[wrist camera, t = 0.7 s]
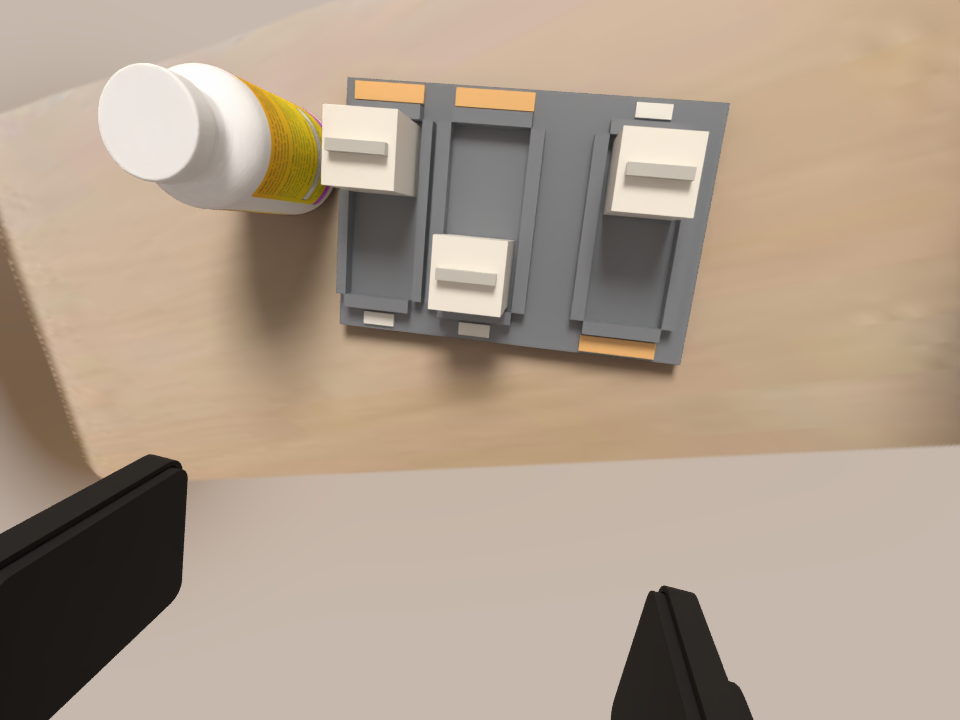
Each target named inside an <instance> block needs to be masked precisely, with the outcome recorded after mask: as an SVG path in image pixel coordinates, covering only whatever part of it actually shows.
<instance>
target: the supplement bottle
mask: <svg viewBox="0 0 960 720" xmlns="http://www.w3.org/2000/svg"><path fill="white" fill-rule="evenodd" d="M98 123H99V129H100V133H101V137H102V139H103V142H104V144H105V146H106V148H107V150H108V152H109V154H110V155H111V157H112V158H113V159H114V160H115V162H116V163H117V164H118V165H119V166H120V167H121V168H123V169H124V170H125V171H126V172H128V173H129V174H131V175H133V176H135V177H137V178H139V179H142V180H145V181H150V182H156V183H157V184H158V185H159V187H161V188H162V189H163V190H164V191H165V192H166V193H168V194H169V195H170V196H172V197H173V198H175V199H176V200H178V201H180V202H182V203H185V204H187V205H190V206H193V207H197V208H202V209H212V210H229V211H243V212H256V213H269V214H282V215H297V214H303V213H306V212H309V211H311V210H313V209H315V208H317V207H318V206H319V205H321V204H322V203H323V202H324V201H325V200H326V199H327V197H328V196H329V195H330V193H331V191H332V190H333V187H331V186H326V185H321V163H322V122H321V121H320V120H319V119H318V118H317V117H316V116H314V115H313V114H312V113H310V112H308V111H307V110H305V109H303V108H301V107H299V106H297V105H295V104H293V103H291V102H288V101H286V100H285V99H282V98H280V97H278V96H276V95H274V94H272V93H270V92H267V91H265V90H263V89H261V88H259V87H257V86H255V85H253V84H251V83H249V82H247V81H245V80H243V79H241V78H239V77H237V76H235V75H233V74H231V73H229V72H227V71H225V70H222V69H220V68H218V67H215V66H211V65H207V64H201V63H187V64H180V65H176V66H173V67H171V68H168V69H166V68H163V67H161V66H157V65H154V64H148V63H137V64H132V65H129V66H126V67H124V68H122V69H120V70H119V71H117V72H116V73H115V74H114V75H113V76H112V77H111V78H110V79H109V81H108V82H107V84H106V86H105V87H104V89H103V91H102V94H101V97H100V101H99V107H98Z"/></svg>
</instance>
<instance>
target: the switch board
mask: <svg viewBox="0 0 960 720" xmlns="http://www.w3.org/2000/svg"><path fill="white" fill-rule="evenodd" d="M729 105H730V103H721V102H706V101H691V100H676V99H662V98H647V97H632V96H617V95H602V94H588V93H573V92H558V91H543V90H529V89H514V88H499V87H484V86H469V85H455V84H440V83H425V82H410V81H396V80H381V79H366V78H351V77H348V80H347V105H335V104H323V117H322V163H321V185H326V186H331V187H335V188H339V218H338V251H337V285H336V293H341V301H340V324H343V325H351V326H360V327H368V328H376V329H385V330H393V331H401V332H410V333H418V334H426V335H434V336H443V337H451V338H459V339H468V340H476V341H484V342H493V343H501V344H509V345H518V346H526V347H534V348H542V349H551V350H559V351H567V352H576V353H584V354H592V355H601V356H609V357H617V358H626V359H634V360H642V361H650V362H659V363H667V364H675V365H680V363H681V358H682V353H683V348H684V342H685V337H686V332H687V326H688V321H689V316H690V311H691V305H692V300H693V295H694V290H695V284H696V279H697V274H698V268H699V263H700V258H701V253H702V247H703V242H704V237H705V232H706V226H707V221H708V216H709V210H710V205H711V200H712V195H713V189H714V184H715V179H716V174H717V168H718V163H719V158H720V153H721V147H722V142H723V137H724V131H725V126H726V121H727V116H728V110H729ZM624 125H626V126H640V127H653V128H667V129H681V130H694V131H708V132H709V136H708V141H707V146H706V152H705V157H704V163H703V168H702V174H701V179H700V185H699V190H698V195H697V201H696V206H695V212H694V217H693V218H691V219H683V220H674V221H669V220H658V219H647V218H636V217H626V216H615V215H604V214H603V208H604V201H605V195H606V188H607V181H608V174H609V167H610V160H611V153H612V146H613V142H614V140H615V138H616V137H617V135H618V134H619V132H620V131H621V129H622V127H623V126H624ZM433 234H454V235H464V236H474V237H484V238H494V239H504V240H514V241H515V245H514V254H513V264H512V273H511V282H510V292H509V301H508V306H507V308H506V309H505V311H504V312H503V314H502V315H501V317H493V316H485V315H476V314H467V313H459V312H450V311H441V310H432V309H428V298H429V284H430V269H431V255H432V241H433Z"/></svg>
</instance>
